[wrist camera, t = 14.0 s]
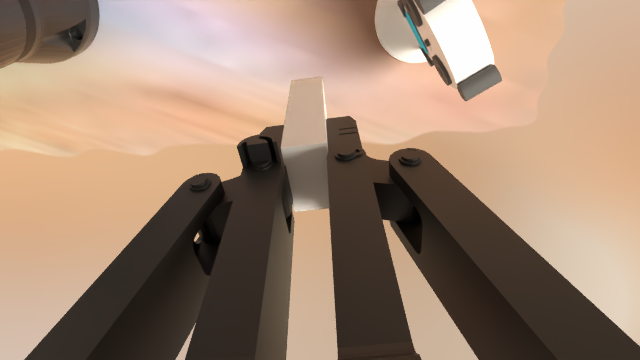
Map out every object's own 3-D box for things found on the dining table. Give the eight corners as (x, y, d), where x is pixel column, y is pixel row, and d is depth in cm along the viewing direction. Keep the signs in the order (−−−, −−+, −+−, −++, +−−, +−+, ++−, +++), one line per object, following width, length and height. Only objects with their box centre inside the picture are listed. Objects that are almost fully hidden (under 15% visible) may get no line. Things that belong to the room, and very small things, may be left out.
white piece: (354, -4, 41) (372, 20, 28) (444, -71, 37) (509, -78, 25) (400, 79, 46) (432, 128, 34) (482, 27, 43) (551, 61, 30)
